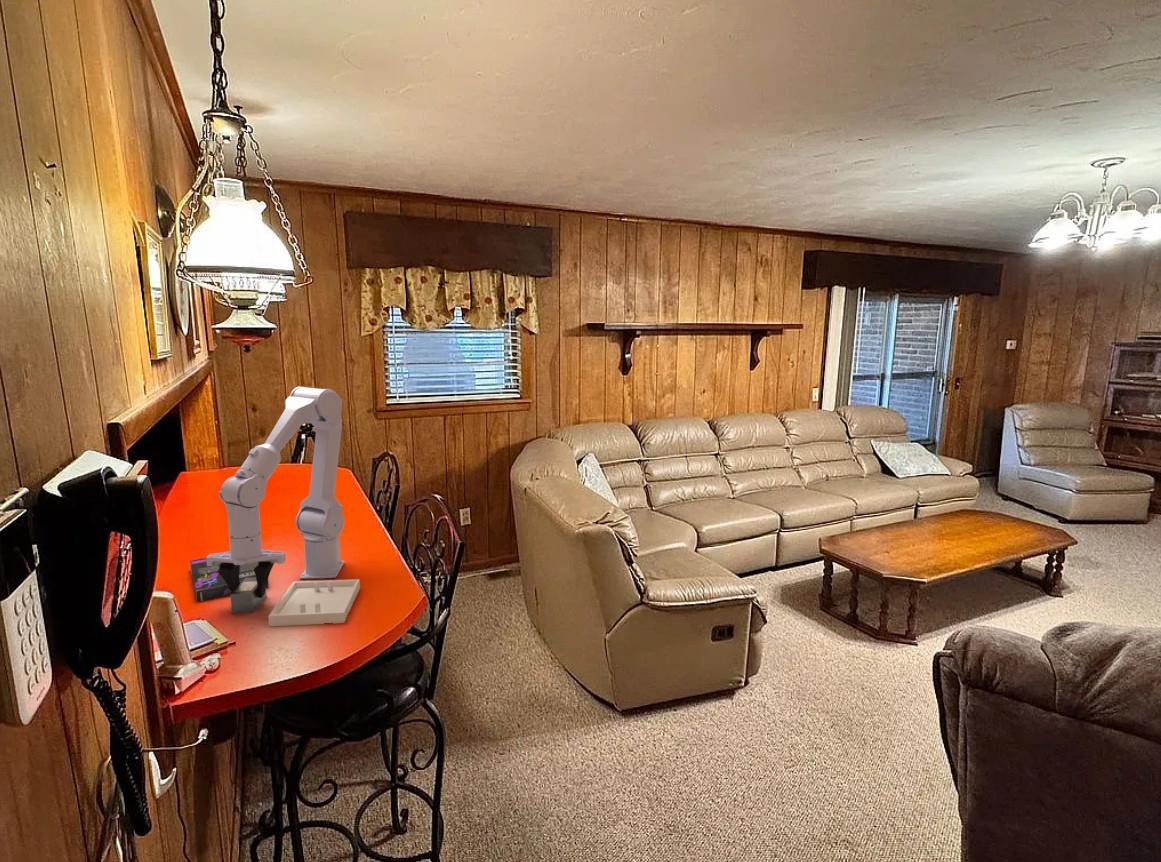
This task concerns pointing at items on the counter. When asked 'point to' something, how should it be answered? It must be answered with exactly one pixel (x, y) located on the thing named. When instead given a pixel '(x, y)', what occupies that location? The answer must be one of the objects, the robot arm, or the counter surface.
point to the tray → (315, 603)
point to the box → (215, 579)
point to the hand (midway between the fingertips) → (249, 596)
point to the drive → (246, 597)
